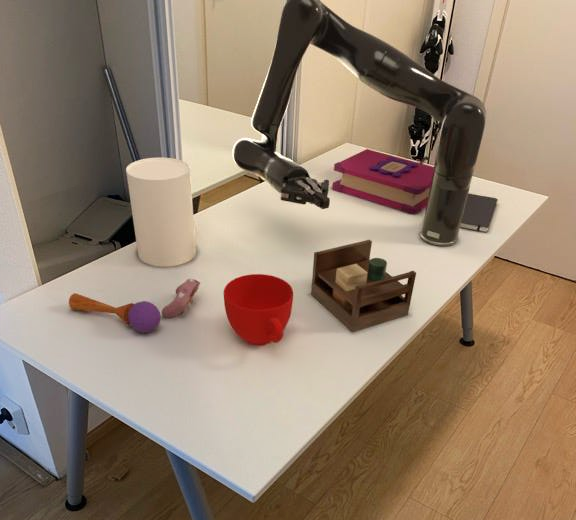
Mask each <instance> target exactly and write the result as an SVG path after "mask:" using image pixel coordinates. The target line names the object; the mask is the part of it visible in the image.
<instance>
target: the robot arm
mask: <svg viewBox="0 0 576 520" xmlns="http://www.w3.org/2000/svg"><path fill="white" fill-rule="evenodd" d="M310 46H311V47H314V48H315V49H318V50H320V51H322V52H324V53H325V54H328V55H330V56H331V57H332V58H334V59H335V60H337V61H338V62H340V63H341V65H342V66H344V68H346V69H347V70H348V71H349V72H350V73H351V74H352V75H353V76H355V78H357V79H358V80H359V81H361V83H363V84H365V85H366V86H368V87H369V88H370V89H372V90H373V91H375V92H376V93H379V94H380V95H381V96H384V97H386V98H388V99H390V100H392V101H394V102H398V103H401V104H404V105H408V106H411V107H415V108H417V109H419V110H421V111H423V112H425V113H427V114H428V115H430V116H431V117H433V118H434V119H435V120H437V121H438V122H439V123H440V124H441V127H440V132H439V136H438V137H439V138H438V142H437V148H436V153H435V160H434V166H433V167H434V170H433V175H432V180H431V186H430V191H429V196H428V201H427V206H426V207H425V212H424V216H423V222H422V226H421V231H420V234H419V235H420V238H421V240H423V242H425V243H427V244H429V245H432V246H439V247H448V246H453V245H455V244H456V243H458V240H459V233H460V230H461V228H460V226H461V221H462V217H463V213H464V209H465V205H466V201H467V197H468V193H469V192H470V189H471V183H472V180H473V175H474V172H475V171H474V170H475V167H476V164H477V161H478V156H479V151H480V148H481V144H482V140H483V136H484V131H485V127H486V121H487V110H486V106H485V105H484V103H483V102H482V100H481V99H480V98H478V97H477V96H475V95H473V94H471V93H469V92H466V91H464V90H463V89H460V88H458V87H456V86H454V85H452V84H450V83H448V82H446V81H444V80H442V79H441V78H440V77H437V76H436V75H435V74H433V73H432V72H431V71H430V70H428V69H427V68H426V67H424V66H423V65H421V64H420V63H419V62H417V61H415V59H413V58H411V57H410V56H408V54H405V53H404V52H403V51H402V50H399V49H398V48H396V47H395V46H393V45H391V44H389V42H386V41H384V40H382V39H381V38H379V37H377V36H375V35H374V34H371V33H369V32H366V31H365V30H362V29H360V28H358V27H356V26H354V25H353V24H350V23H349V22H348V21H346V20H345V19H343V18H342V17H341V16H339V14H337V13H335V12H334V10H332V9H331V8H329V7H328V6H327V5H326V4H325V3H323V2H322V1H321V0H287V1H286V3H285V4H284V6H283V8H282V11H281V15H280V21H279V26H278V31H277V36H276V42H275V47H274V49H273V54H272V57H271V62H270V65H269V68H268V71H267V74H266V77H265V80H264V82H263V85H262V88H261V91H260V94H259V97H258V100H257V102H256V105H255V108H254V110H253V114H252V116H251V121H250V125H251V127H252V129H253V130H254V131H256V132H258V133H259V134H260V135H261V140H257V139H252V138H248V137H243V138H240V139H238V140H237V141H236V142H235V143H234V145H233V147H232V158H233V161H234V163H235V165H237V167H238V168H240V169H242V171H246V172H248V173H250V174H252V175H255V176H257V177H259V178H260V179H262V180H263V181H264V182H266V183H267V184H268V185H269V186H270V187H271V188H272V189H273V190H275V191H277V192H278V193H279V194H280V201H282V202H287V203H288V202H289V203H294V204H298V205H307V203H308V204H310V205H314V206H316V207H318V208H320V210H325V209H329V208H330V202H331V199H330V198H329V196H328V195H329V190H330V189H329V188H330V180H329V179H324V180H323V181H321V182H318V180H317V179H315V178H312V177H311V176H310V174H309V172H308V170H307V169H306V168H304V167H303V166H302V165H300V164H298V163H296V162H295V161H293V160H292V159H290V158H289V157H286V156H283V155H282V154H281V153H279V152H277V144H278V137H279V131H280V128H281V125H282V122H283V121H284V117H285V115H286V112H287V110H288V106H289V103H290V99H291V95H292V91H293V87H294V81H295V80H296V79H295V78H296V75H297V72H298V69H299V66H300V64H301V62H302V59H303V57H304V55H305V54H306V52H307V50H308V48H309V47H310ZM425 161H429V157H428V156H427V155H426V156H423V158H421V160H420V161H419V163H421V164H424V162H425Z"/></svg>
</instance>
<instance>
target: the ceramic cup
mask: <svg viewBox="0 0 576 520" xmlns="http://www.w3.org/2000/svg"><path fill="white" fill-rule="evenodd" d="M293 302H294V290H293V286H291V284H290V283H289V282H288V281H286V280H284V279H282V278H280V277H278V276H275V275H270V274H263V273H251V274H246V275H241V276H238V277H236V278H233V279H232V280H230V281H229V282H228V283H227V284H226V285H225V286H224V289H223V303H224V310H225V314H226V315H225V316H226V318H227V321H228V323H229V325H230V327H231V329H232V331H233V332H234V333H235V334H236V335H237V336H238V337H239V338H240V339H242V340H243V341H244V342H245V343H247V344H249V345H252V346H265V345H269V344H270V343H278V342H280V341H282V339H283V337H284V330H285V329H286V327H287V325H288V323H289V321H290V319H291V315H292V310H293V304H294V303H293Z"/></svg>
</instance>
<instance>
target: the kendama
mask: <svg viewBox="0 0 576 520" xmlns="http://www.w3.org/2000/svg"><path fill="white" fill-rule="evenodd" d="M68 306H69V309H71V310H75V311H83V312H84V311H86V312H95V313H96V312H98V313H105V314H106V313H107V314H115V315H116V316H117V317H118V318H119V319H120V320H122V321H123V323H125V324H126V325H129V326H130V327H132V328H133V329H134V330H135V331H137V332H140V333H143V334H146V333H149V332H153V331H154V330H155V329H156V328H157V327H159V324H160V323H161V316H162V315H161V313H160V310H159V309H158V307H157V306H156V305H155V304H154V303H152V302H150V301H146V300H142V301H139V302H135V303H133V302H130V303H127V304H124V305H120V306H117V307H115V306H113V305H110V304H106V303H104V302H101V301H99V300H96V299H93V298H90V297H87V296H85V295H81V294H79V293H72V294H71V295H70V296H69V298H68Z"/></svg>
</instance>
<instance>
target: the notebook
mask: <svg viewBox="0 0 576 520" xmlns="http://www.w3.org/2000/svg"><path fill="white" fill-rule="evenodd" d="M498 201H499V200H498V198H496V197H491V196H487V195H481V194H480V195H479V194H475V193H469V192H468V197H467V201H466V205H465V209H464V213H463V217H462V221H461V226H460V229H465V230H469V231H475V232H479V233H488V232H489V228H490V226H491V222H492V220H493V217H494V213H495V210H496V207H497V204H498Z"/></svg>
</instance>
